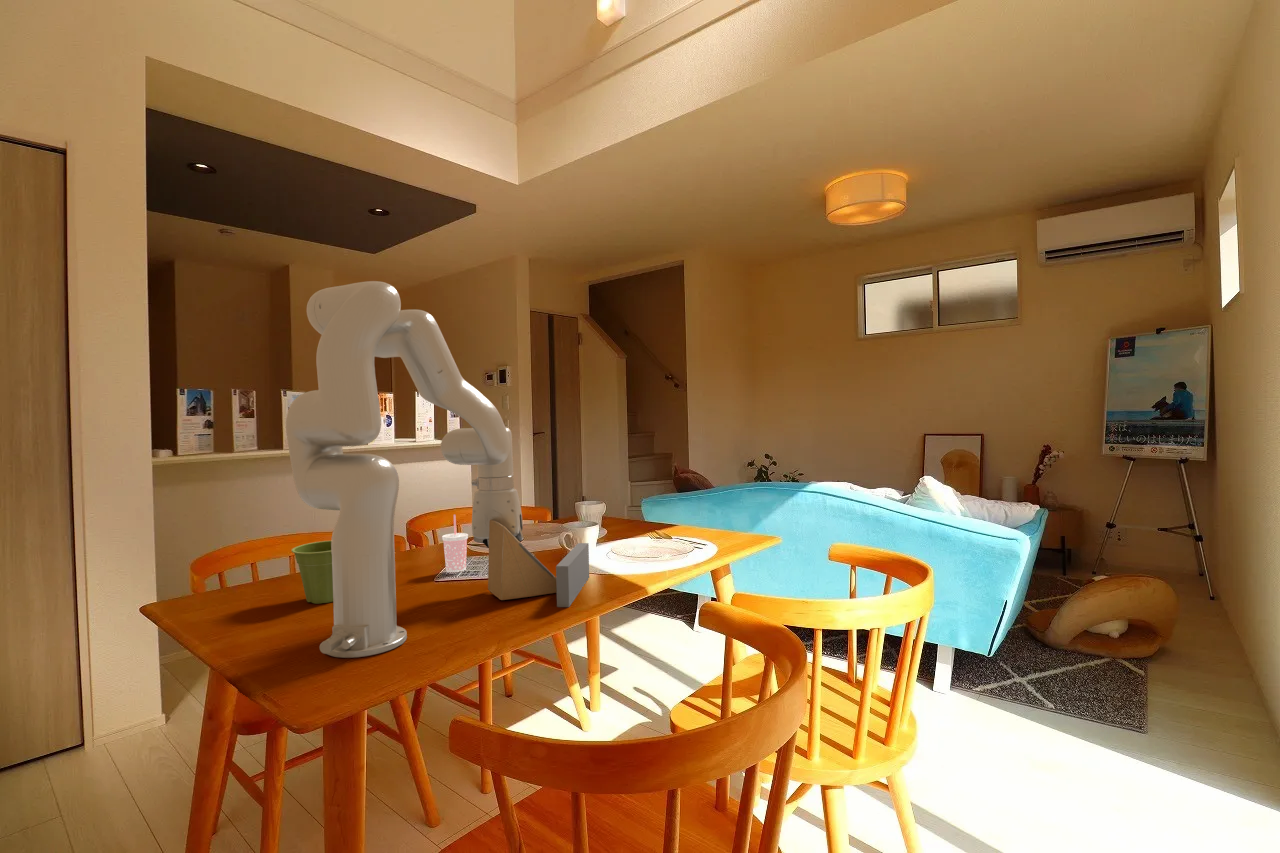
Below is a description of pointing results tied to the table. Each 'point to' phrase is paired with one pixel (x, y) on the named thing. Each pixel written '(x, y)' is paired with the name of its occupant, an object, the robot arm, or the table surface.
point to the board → (572, 574)
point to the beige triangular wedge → (515, 567)
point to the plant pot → (316, 571)
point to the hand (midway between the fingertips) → (499, 568)
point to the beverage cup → (455, 550)
